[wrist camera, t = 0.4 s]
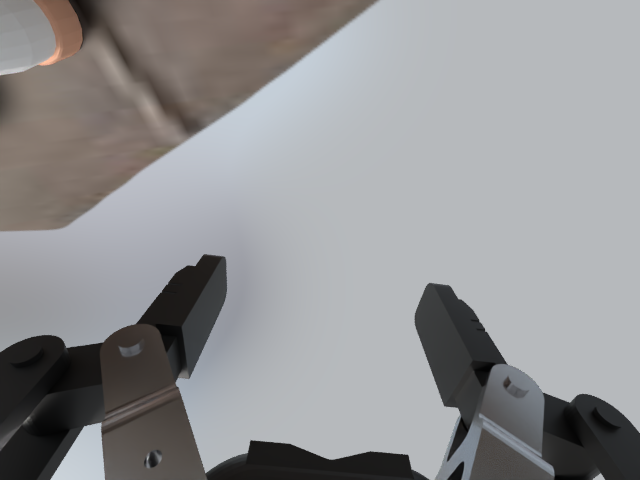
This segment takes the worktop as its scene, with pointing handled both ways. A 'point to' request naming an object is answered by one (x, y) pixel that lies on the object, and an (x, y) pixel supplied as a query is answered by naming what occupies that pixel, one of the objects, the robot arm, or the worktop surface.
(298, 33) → the worktop surface
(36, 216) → the worktop surface
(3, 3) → the pepper shaker
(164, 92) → the worktop surface
